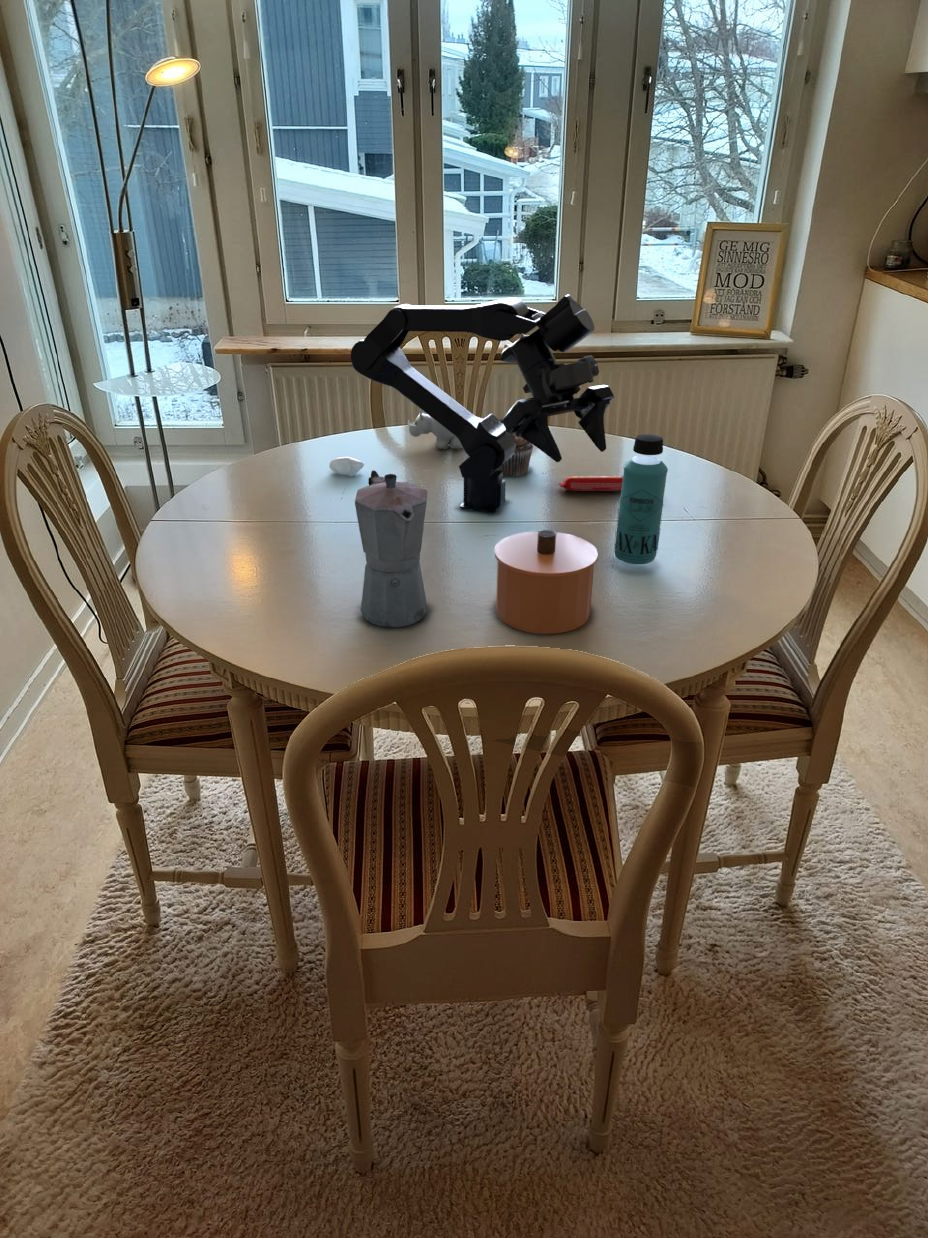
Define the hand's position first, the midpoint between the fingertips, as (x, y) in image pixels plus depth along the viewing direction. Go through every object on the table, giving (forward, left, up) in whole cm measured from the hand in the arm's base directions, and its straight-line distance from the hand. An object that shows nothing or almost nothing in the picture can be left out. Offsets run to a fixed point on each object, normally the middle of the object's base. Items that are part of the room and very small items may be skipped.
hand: (582, 455), depth 134 cm
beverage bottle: (+11, -7, -14) cm, 19 cm away
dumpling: (-49, +13, -14) cm, 53 cm away
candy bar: (-1, +22, -14) cm, 26 cm away
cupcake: (-21, +27, -14) cm, 37 cm away
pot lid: (+2, -27, -5) cm, 27 cm away
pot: (+2, -27, -14) cm, 30 cm away
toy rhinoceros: (-40, +36, -14) cm, 56 cm away
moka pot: (-17, -35, -14) cm, 41 cm away
